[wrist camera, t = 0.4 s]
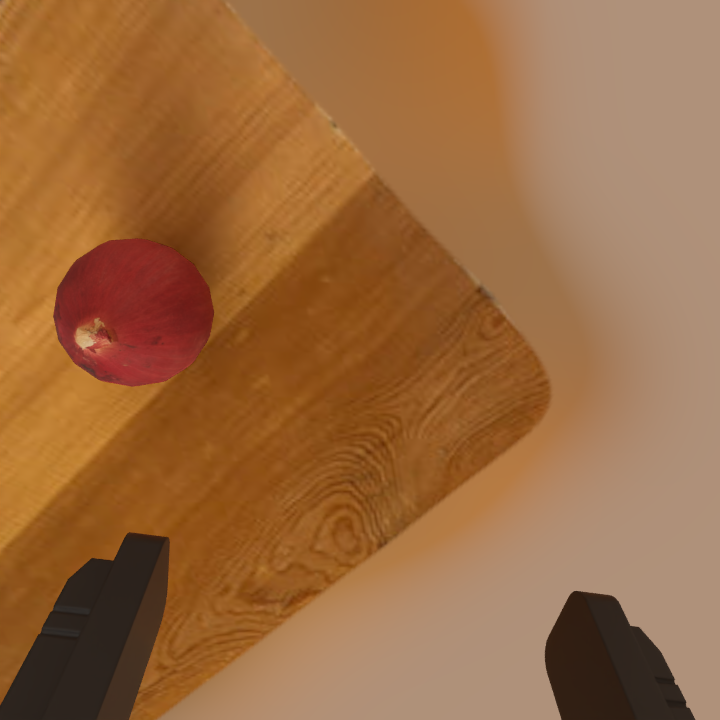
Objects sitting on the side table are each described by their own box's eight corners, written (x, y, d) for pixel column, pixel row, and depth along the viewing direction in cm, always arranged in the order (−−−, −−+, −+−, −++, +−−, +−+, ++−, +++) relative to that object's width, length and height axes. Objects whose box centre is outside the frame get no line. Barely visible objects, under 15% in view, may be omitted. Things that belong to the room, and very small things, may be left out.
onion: (190, 376, 28) (111, 455, 21) (88, 302, 27) (-32, 357, 20) (258, 283, 27) (199, 332, 19) (152, 201, 26) (46, 219, 18)
